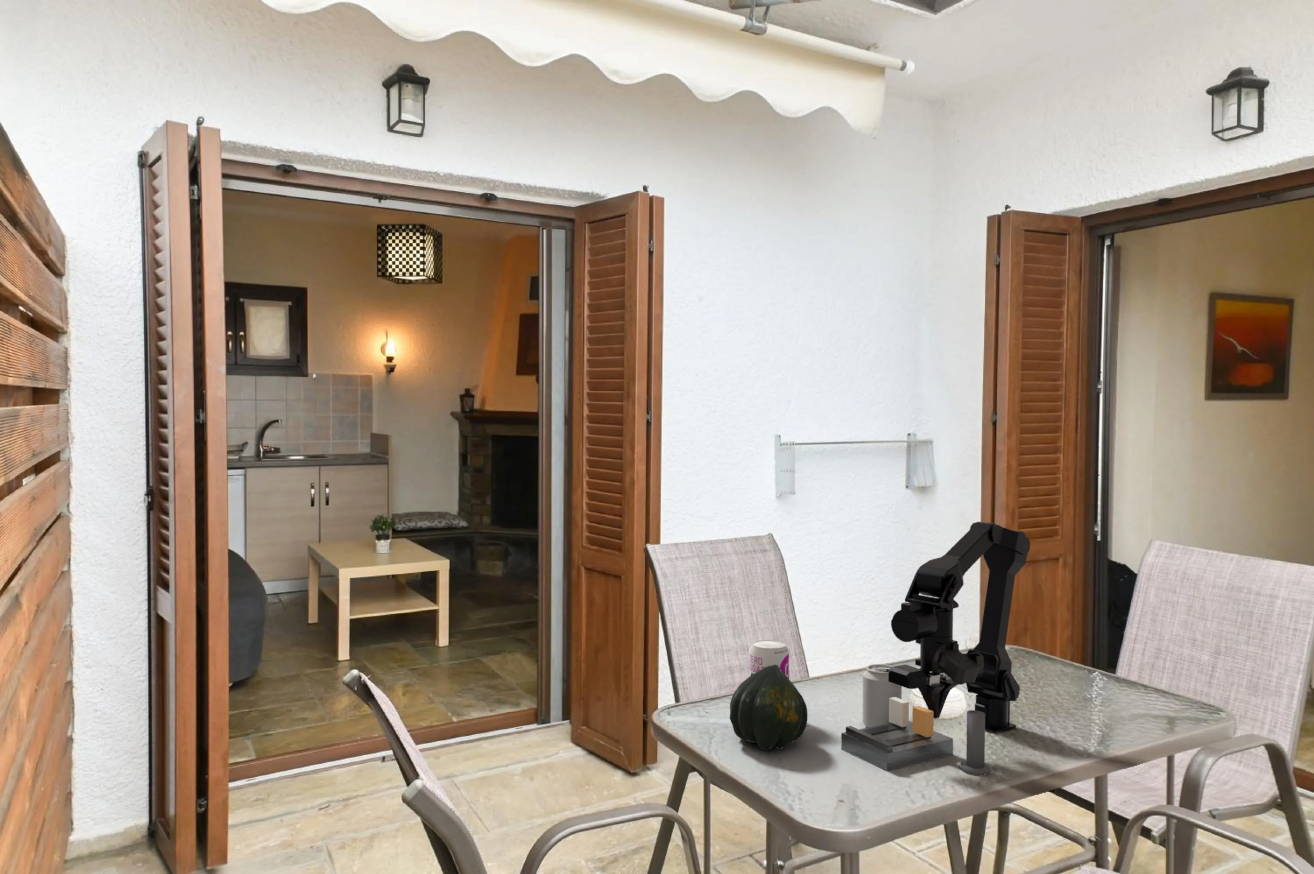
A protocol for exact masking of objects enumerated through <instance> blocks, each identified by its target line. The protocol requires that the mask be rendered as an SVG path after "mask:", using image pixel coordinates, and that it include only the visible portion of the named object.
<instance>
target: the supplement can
mask: <svg viewBox="0 0 1314 874" xmlns="http://www.w3.org/2000/svg"><path fill="white" fill-rule="evenodd" d="M748 651H749V652H748V677H750V676H751V675H753V674H754V673H756V672H758V671H760V670H761V669H763V668H765V667H767V666H772V665H778V667H779V668H780V669H781V670H782V671H783V672H784V674H785V675H786V676H787V677H788V679H789V680H790V651H789V648H788V647H787V643H785V642H783V641H779V640H775V639H762V640H761V639H760V640H755V641H753V642H752V643H751V646H750V648H749V650H748Z"/></svg>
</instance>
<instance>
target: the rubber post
mask: <svg viewBox="0 0 1314 874" xmlns="http://www.w3.org/2000/svg"><path fill="white" fill-rule="evenodd" d="M985 747H986V729H985V713H984V712H981V711H976V710H975V709H973V710H968V711H966V755H965V757H966V759H965V760H963V761H961V762H960V764H959V765H960V766H959V767H960V768H959V769H960V770H961V771H962V772H963V773H965V774H969V775H971V774H974V775H973V776H979V775H982V776H985V775H984V774H988V775H990V774H991V773H990V772H992V771H991V769H992V767H991V765H990V764H989V763H986V761H985V760H986V757H985V756H986V753H985V752H986V748H985ZM989 773H990V774H989Z"/></svg>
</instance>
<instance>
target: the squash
mask: <svg viewBox="0 0 1314 874" xmlns="http://www.w3.org/2000/svg"><path fill="white" fill-rule="evenodd" d="M729 720H730V723H731V725H732V729H733V733H734V734H735V735H736V737H738V738H739V739H740V740H743V741H746V742H750V743H756V744H757V745H758V746H759V748H760V749H761V750H763V751H767V752H768V751H771V750H772V749H774V747H775V748H777V749H785V748H787V747H789V746H791V744H792V743H793V742H795V741H797V740H798V739H800V738H801V737H802V736H803V734H804V732H805V730H806V728H807V725H808V707H807V704H806V702H805V700H804V698H803V696H802V694H801V693H800V691H799V690H798V689H797V687H796V686H795V684H794V683H793V682H792V681H791V680H790V678H789V679H788V677H787V676H786V675H785V674H784V672H783V671H782V670H781V669H780V668H779V667H778V665H772V666H767V667H765V668H763V669H761V670H760V671H758V672H756V673H754V674H753V675H751V676H750V677H749V676H748V677H747V678H746V679H744V681H743V682H741V683H740V684H739V685H738V686H737V688H736V690H735V691H734V692H733V694H732V697H731V699H730V702H729Z"/></svg>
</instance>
